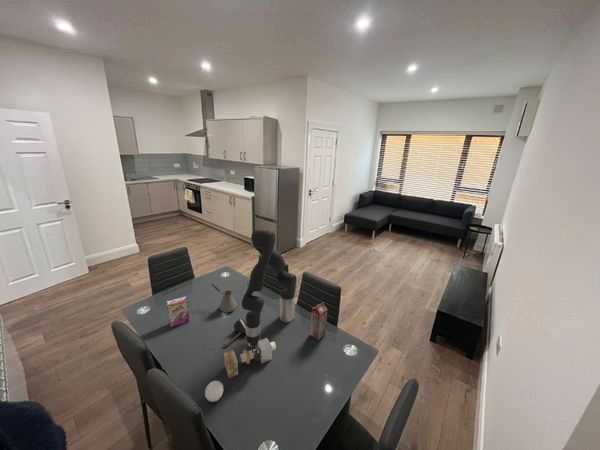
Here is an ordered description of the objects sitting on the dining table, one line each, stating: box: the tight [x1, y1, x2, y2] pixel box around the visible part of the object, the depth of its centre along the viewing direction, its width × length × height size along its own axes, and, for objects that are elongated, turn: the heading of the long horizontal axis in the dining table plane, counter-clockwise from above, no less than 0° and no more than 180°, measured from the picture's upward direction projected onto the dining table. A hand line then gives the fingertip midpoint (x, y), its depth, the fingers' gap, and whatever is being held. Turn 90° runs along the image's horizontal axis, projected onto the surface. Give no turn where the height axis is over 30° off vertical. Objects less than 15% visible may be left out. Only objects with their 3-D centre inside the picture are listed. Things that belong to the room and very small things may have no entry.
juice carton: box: [309, 301, 328, 341], centre depth 144 cm, size 7×7×22 cm
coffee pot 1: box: [210, 283, 238, 313], centre depth 167 cm, size 21×12×15 cm, turn 61°
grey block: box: [258, 337, 273, 365], centre depth 129 cm, size 6×7×8 cm
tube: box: [239, 341, 277, 365], centre depth 127 cm, size 18×7×7 cm, turn 121°
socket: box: [223, 349, 239, 379], centre depth 120 cm, size 4×8×9 cm, turn 31°
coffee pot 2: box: [223, 318, 246, 349], centre depth 142 cm, size 8×18×8 cm
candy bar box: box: [165, 296, 190, 328], centre depth 149 cm, size 11×5×16 cm, turn 123°
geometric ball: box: [204, 380, 224, 403], centre depth 107 cm, size 8×8×8 cm
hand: (253, 356), depth 126 cm, fingers open, 6 cm apart
